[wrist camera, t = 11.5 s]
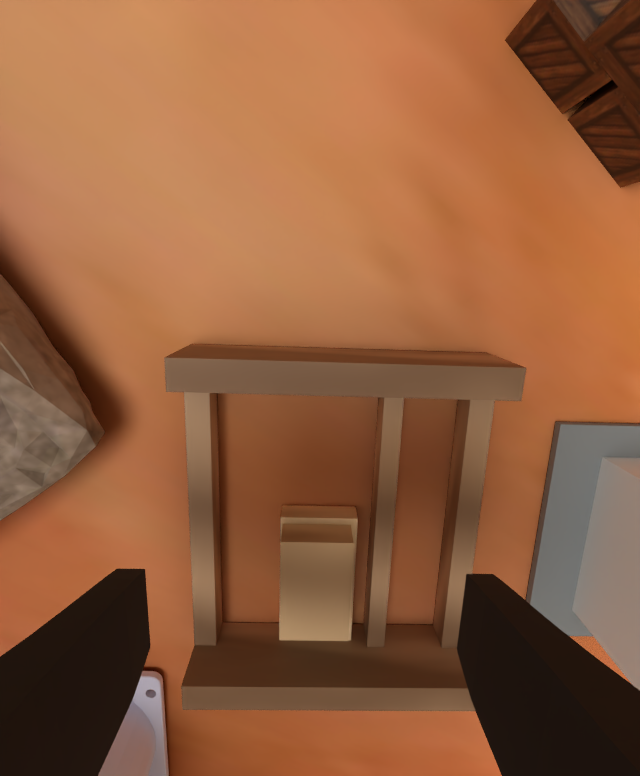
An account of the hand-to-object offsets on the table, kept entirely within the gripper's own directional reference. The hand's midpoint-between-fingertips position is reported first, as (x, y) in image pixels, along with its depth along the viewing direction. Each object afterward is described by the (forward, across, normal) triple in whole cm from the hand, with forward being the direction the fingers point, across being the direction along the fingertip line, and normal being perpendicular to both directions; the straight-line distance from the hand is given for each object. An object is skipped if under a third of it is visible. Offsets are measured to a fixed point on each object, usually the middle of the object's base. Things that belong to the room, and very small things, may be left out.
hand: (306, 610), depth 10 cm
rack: (+10, -2, +3) cm, 11 cm away
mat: (+10, -14, +4) cm, 18 cm away
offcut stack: (+10, -1, +6) cm, 12 cm away
